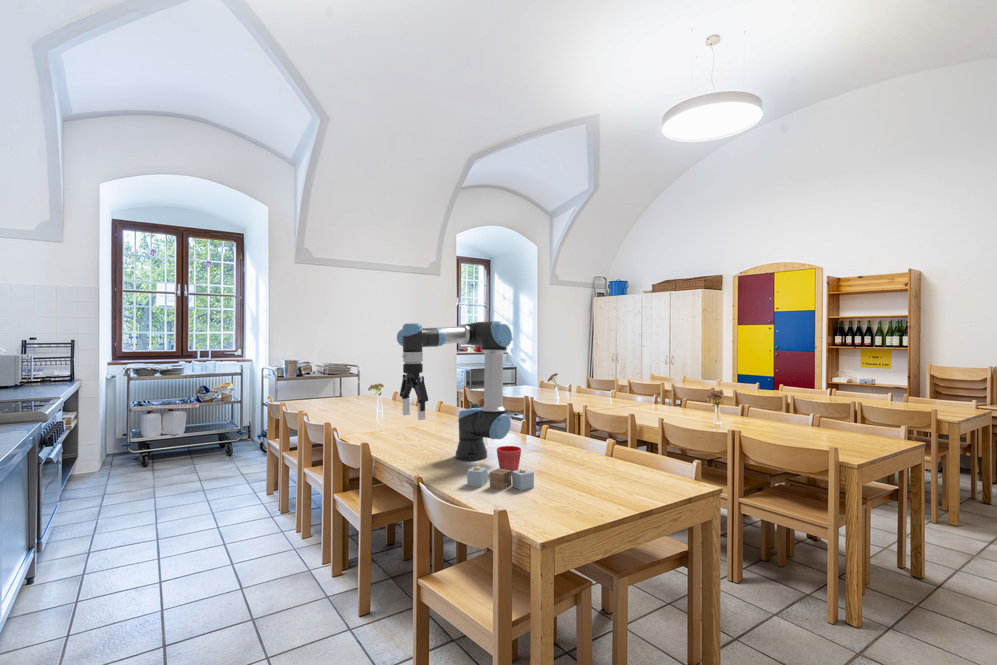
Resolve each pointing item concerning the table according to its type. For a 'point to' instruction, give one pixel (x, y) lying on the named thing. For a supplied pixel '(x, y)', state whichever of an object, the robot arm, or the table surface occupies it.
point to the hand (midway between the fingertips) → (413, 417)
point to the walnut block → (500, 479)
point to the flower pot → (509, 457)
